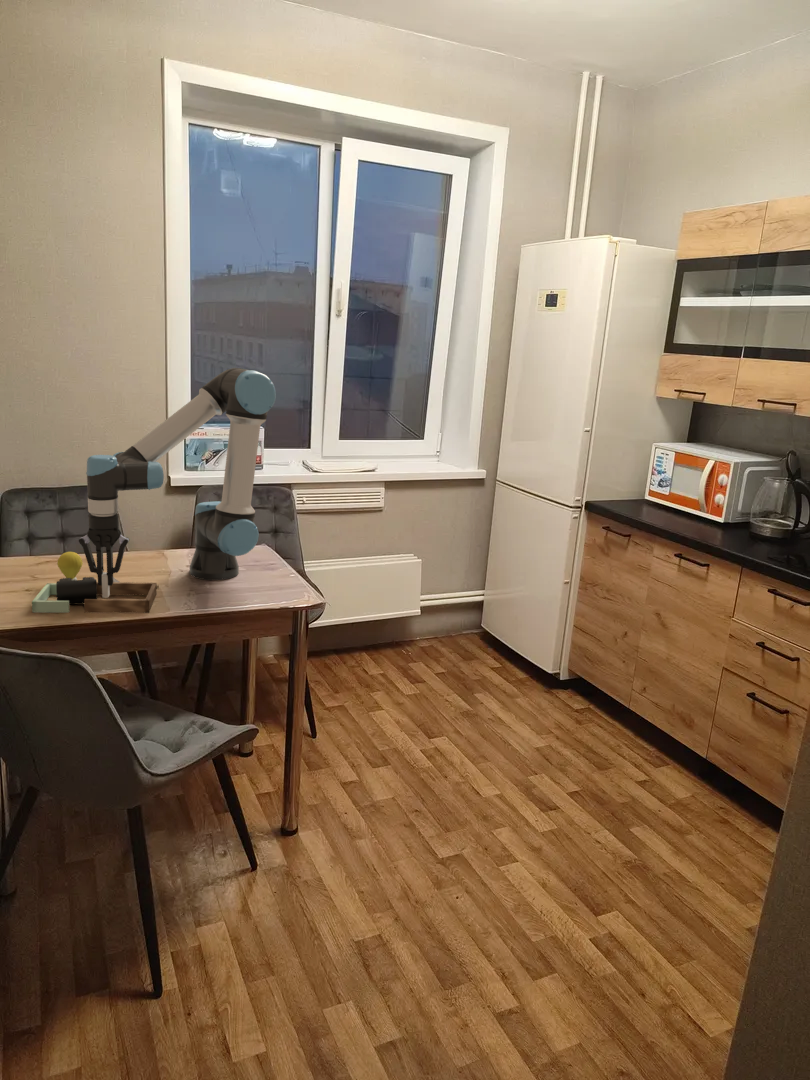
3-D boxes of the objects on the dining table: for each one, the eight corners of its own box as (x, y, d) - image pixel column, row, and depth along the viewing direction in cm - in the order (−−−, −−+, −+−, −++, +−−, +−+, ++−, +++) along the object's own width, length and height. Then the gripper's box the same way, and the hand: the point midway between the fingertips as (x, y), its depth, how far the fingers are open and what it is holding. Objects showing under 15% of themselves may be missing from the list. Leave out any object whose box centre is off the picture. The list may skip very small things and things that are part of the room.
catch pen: (81, 593, 217) (81, 583, 216) (68, 612, 203) (68, 601, 202) (47, 593, 215) (47, 583, 214) (32, 612, 201) (31, 601, 200)
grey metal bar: (121, 588, 224) (121, 583, 224) (116, 589, 223) (115, 583, 223) (108, 578, 232) (108, 573, 231) (103, 579, 231) (103, 574, 230)
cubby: (156, 594, 221) (156, 582, 220) (149, 612, 206) (149, 600, 205) (96, 593, 217) (96, 582, 217) (84, 612, 203) (84, 600, 202)
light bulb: (74, 589, 219) (72, 556, 217) (53, 586, 220) (51, 553, 218) (88, 583, 226) (86, 550, 223) (67, 580, 227) (66, 547, 224)
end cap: (57, 608, 205) (55, 584, 203) (58, 599, 211) (57, 576, 209) (97, 606, 208) (96, 582, 207) (97, 597, 215) (96, 574, 213)
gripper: (131, 510, 209) (132, 591, 215) (80, 509, 207) (84, 591, 213) (126, 517, 202) (128, 601, 208) (74, 515, 200) (78, 600, 206)
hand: (106, 596), depth 210 cm, fingers closed
